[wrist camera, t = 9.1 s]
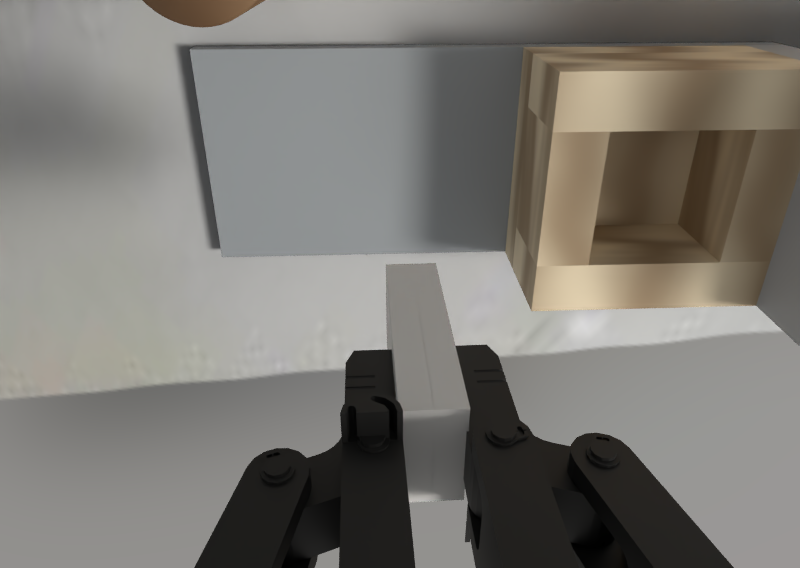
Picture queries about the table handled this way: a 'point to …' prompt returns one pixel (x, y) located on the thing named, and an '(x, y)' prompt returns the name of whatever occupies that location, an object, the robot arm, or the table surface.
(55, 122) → the table surface
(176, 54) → the table surface
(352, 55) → the grey corner bracket
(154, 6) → the dowel
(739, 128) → the block
